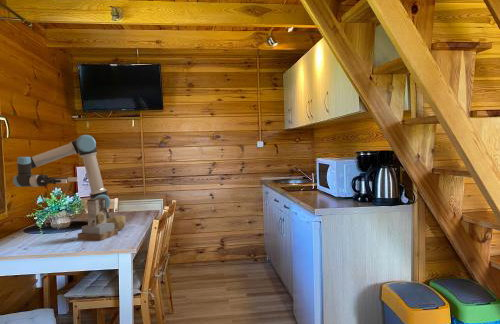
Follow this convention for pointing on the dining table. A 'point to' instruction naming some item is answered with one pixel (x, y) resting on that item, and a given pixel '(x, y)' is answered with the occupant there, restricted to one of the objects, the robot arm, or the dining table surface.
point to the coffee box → (96, 211)
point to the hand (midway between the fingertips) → (72, 180)
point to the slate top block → (98, 228)
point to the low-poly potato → (117, 222)
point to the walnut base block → (97, 235)
